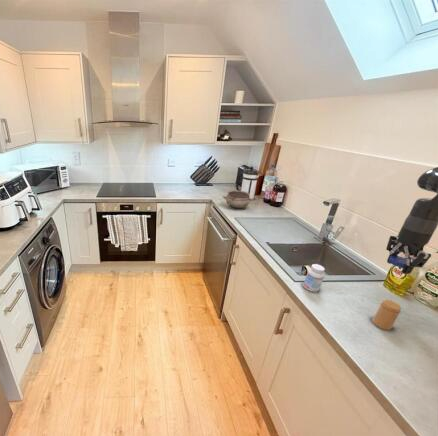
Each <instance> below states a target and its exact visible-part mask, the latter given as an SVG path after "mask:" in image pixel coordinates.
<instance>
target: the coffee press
mask: <svg viewBox="0 0 438 436" xmlns="http://www.w3.org/2000/svg"><path fill="white" fill-rule="evenodd" d="M259 174H260V173H259V171H258V170H257V169H254V166H250V168H246V169H244V171H243V172H242V174H240V175H238V177H237V179H236V184H235V190H238V191H245V192H248V193H249V194H250V196H249V197H250V198H254V200H256V198H255V194H256V189H257V183H258V179H259V177H260V176H259ZM241 178H242V179H241ZM240 179H241V185H240ZM239 185H240V189H239ZM254 200H253V201H254Z"/></svg>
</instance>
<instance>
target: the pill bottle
mask: <svg viewBox="0 0 438 436" xmlns="http://www.w3.org/2000/svg"><path fill="white" fill-rule="evenodd" d="M325 269H326V268H325V267H324V266H322V265H321V264H319V263H313V264H312V265H311V267H310V268H308V270H307V273H306V274H305V275H306V276H305V278H304V282H303V284H302V285H303V287H304V289H306V290H308V291H310V292H315V293H317V292H319V291H320V289H321V286H322V285H323V281H324V278H325Z"/></svg>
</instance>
